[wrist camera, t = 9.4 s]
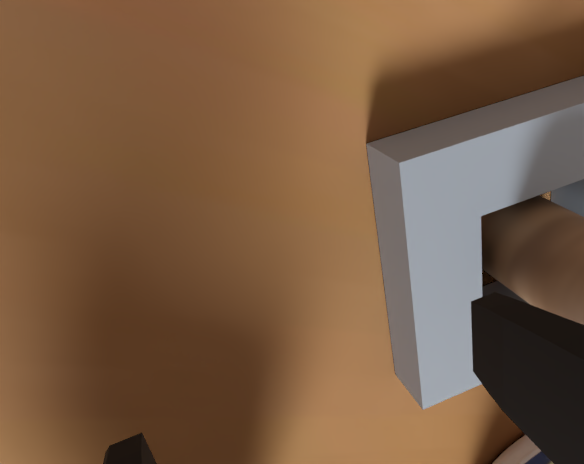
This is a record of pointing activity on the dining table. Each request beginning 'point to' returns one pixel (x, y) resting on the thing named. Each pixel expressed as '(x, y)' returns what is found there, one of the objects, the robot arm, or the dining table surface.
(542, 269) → the dowel
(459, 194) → the socket block
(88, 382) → the dining table surface
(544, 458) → the supplement tub
